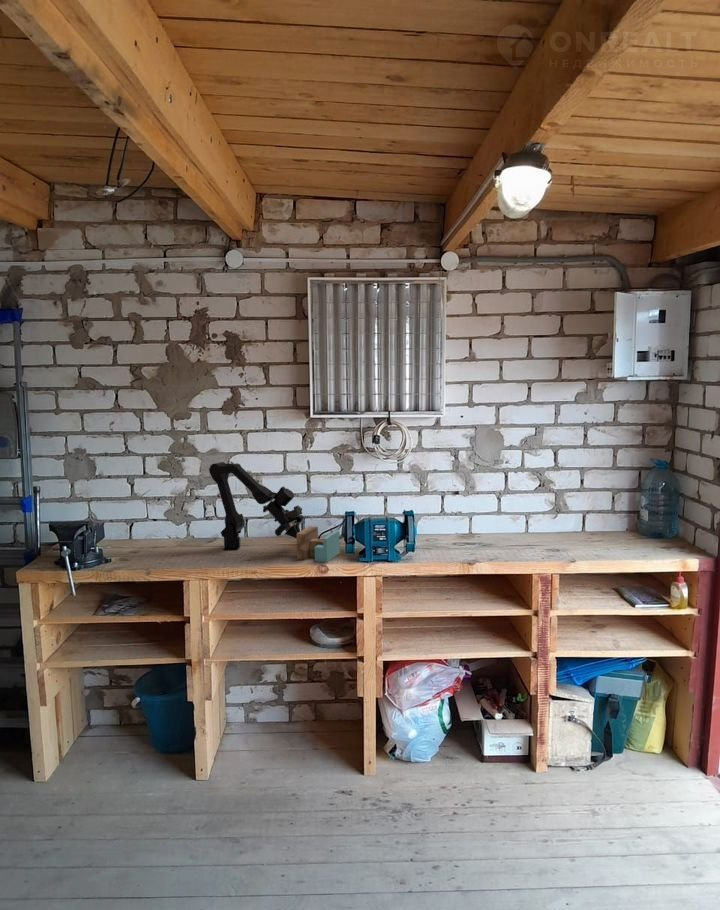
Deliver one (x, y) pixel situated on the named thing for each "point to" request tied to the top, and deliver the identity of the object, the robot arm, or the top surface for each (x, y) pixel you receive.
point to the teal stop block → (328, 548)
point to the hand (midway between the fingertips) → (302, 539)
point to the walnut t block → (307, 542)
